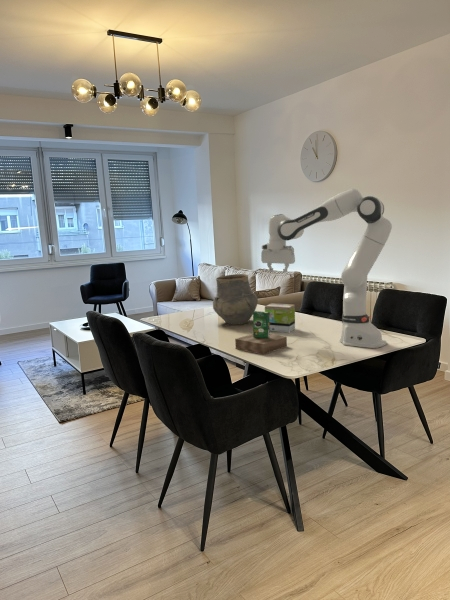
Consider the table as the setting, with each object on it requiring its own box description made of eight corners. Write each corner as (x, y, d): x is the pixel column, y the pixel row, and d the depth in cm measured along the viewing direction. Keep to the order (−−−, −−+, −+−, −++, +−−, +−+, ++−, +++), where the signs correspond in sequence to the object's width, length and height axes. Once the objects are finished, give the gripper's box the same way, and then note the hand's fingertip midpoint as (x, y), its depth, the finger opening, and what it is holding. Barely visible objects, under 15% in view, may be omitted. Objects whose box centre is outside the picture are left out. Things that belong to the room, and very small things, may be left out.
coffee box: (270, 337, 225) (269, 311, 223) (268, 338, 222) (267, 312, 220) (255, 336, 228) (254, 310, 226) (253, 337, 226) (252, 311, 224)
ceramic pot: (267, 322, 284) (266, 274, 280) (230, 329, 269) (228, 279, 264) (240, 316, 308) (239, 272, 303) (205, 322, 292) (202, 276, 287)
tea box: (264, 331, 261) (264, 305, 259) (271, 327, 270) (270, 302, 268) (289, 332, 254) (289, 306, 252) (295, 329, 263) (295, 303, 261)
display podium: (286, 346, 226) (286, 336, 225) (263, 354, 213) (263, 344, 213) (259, 341, 239) (258, 331, 238) (235, 348, 226) (235, 338, 225)
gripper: (297, 245, 235) (297, 272, 237) (266, 245, 249) (267, 270, 251) (289, 246, 231) (290, 273, 233) (259, 246, 245) (259, 271, 247)
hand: (278, 271), depth 242 cm, fingers open, 8 cm apart
